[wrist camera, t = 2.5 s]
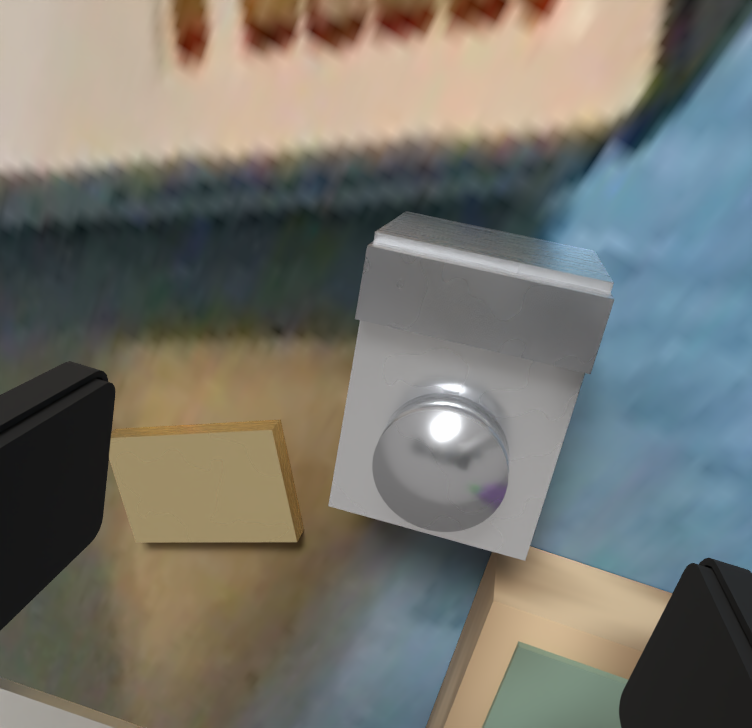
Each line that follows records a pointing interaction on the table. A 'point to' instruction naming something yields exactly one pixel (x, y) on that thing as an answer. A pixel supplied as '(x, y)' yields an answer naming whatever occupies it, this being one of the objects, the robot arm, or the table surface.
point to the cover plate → (207, 482)
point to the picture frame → (546, 646)
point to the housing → (465, 378)
